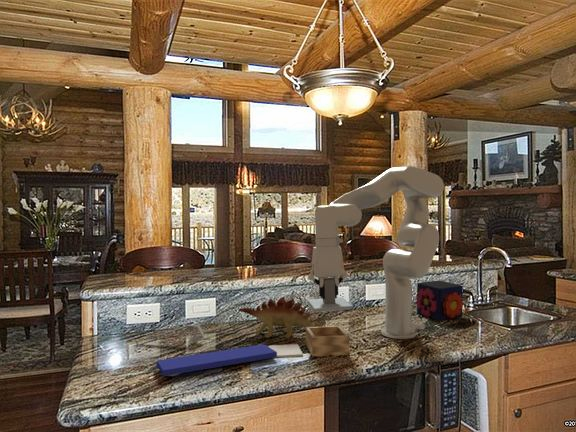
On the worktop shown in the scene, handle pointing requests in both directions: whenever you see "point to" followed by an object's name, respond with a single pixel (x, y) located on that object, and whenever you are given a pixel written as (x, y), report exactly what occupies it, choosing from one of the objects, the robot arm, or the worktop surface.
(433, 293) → the decorative cube
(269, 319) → the toy
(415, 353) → the worktop surface
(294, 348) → the mat
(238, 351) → the long blue plank
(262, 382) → the worktop surface
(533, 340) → the worktop surface
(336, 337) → the pine box
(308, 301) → the lid
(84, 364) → the worktop surface
